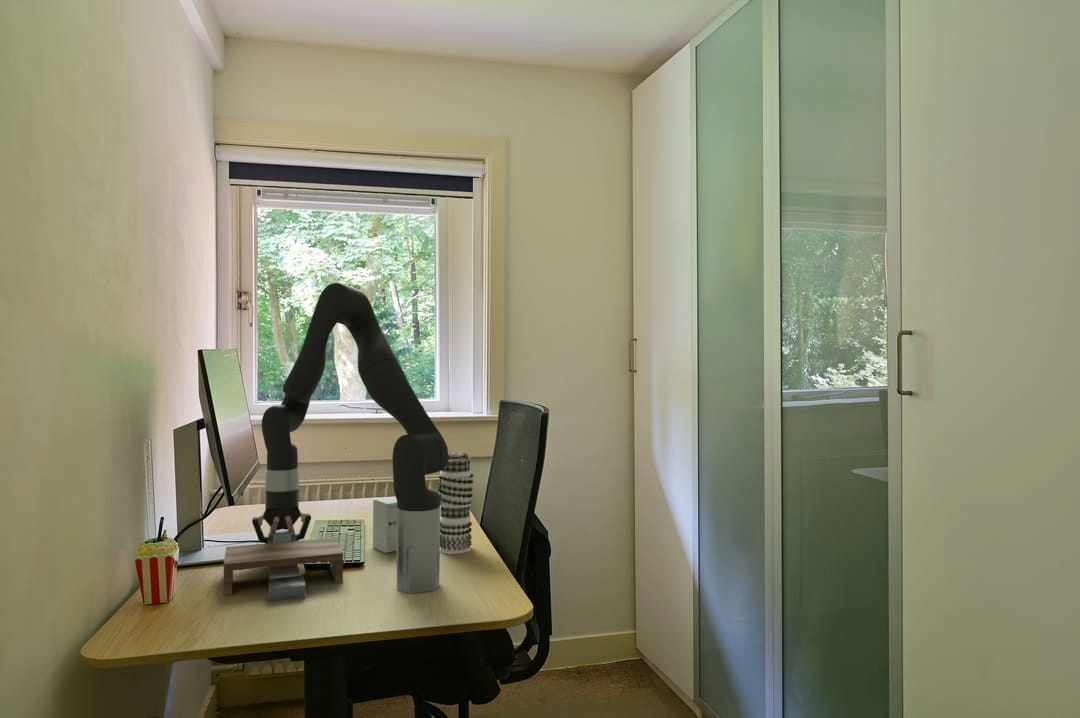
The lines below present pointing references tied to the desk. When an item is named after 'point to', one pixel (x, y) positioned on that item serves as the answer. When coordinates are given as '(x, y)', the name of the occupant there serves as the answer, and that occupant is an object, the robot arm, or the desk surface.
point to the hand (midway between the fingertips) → (281, 557)
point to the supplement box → (385, 524)
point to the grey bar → (287, 569)
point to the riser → (282, 557)
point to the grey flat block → (286, 588)
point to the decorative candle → (455, 504)
